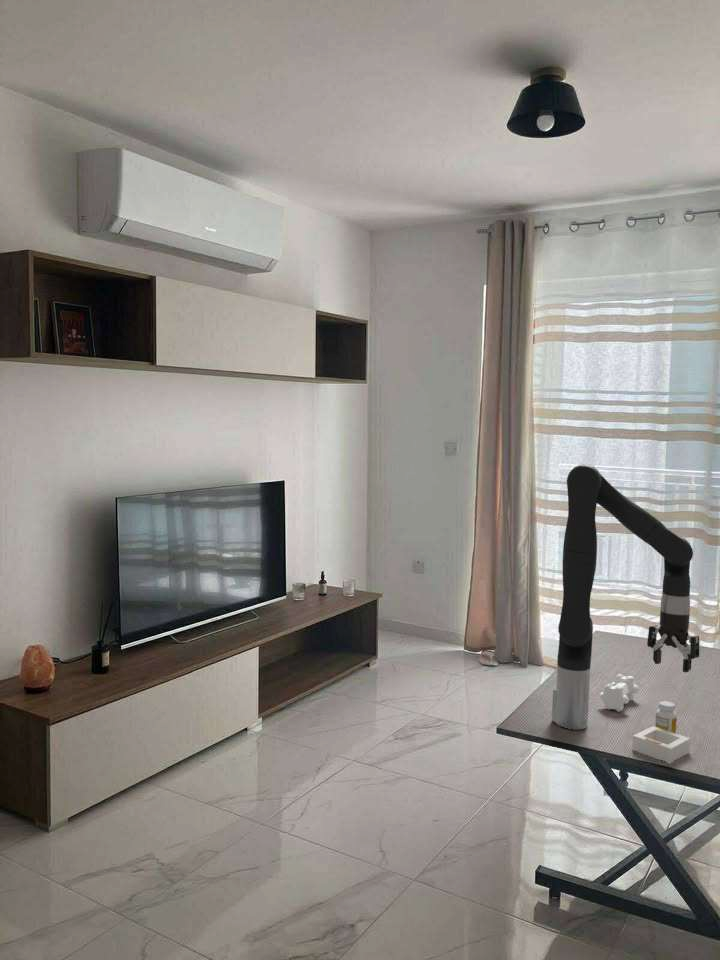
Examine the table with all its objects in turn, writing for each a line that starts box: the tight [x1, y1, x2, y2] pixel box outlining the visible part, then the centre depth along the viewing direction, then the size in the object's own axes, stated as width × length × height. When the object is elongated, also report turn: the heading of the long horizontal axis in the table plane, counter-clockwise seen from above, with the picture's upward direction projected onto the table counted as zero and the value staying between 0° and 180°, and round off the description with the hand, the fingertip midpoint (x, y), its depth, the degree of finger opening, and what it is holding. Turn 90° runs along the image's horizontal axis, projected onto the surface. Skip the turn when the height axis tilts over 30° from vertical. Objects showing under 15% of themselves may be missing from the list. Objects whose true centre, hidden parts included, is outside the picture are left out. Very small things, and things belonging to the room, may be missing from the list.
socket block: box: [631, 725, 691, 763], centre depth 213 cm, size 11×11×4 cm
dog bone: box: [598, 673, 640, 713], centre depth 247 cm, size 15×9×8 cm, turn 146°
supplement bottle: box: [654, 700, 678, 734], centre depth 222 cm, size 5×5×10 cm
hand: (671, 667), depth 221 cm, fingers open, 8 cm apart
